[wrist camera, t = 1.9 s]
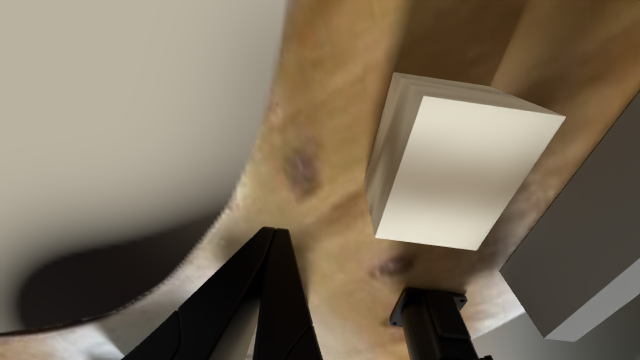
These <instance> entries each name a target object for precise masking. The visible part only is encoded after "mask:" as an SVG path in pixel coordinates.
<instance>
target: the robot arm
mask: <svg viewBox="0 0 640 360" xmlns="http://www.w3.org/2000/svg"><path fill="white" fill-rule="evenodd" d="M466 302H467V298H466V296H465V295H463V294H455V293H447V292H438V291H429V290H420V289H412V288H408V289H405V290H404V292H403V294H402V296H401V298H400V300H399V302H398V304H397V306H396V308H395V310H394V312H393V314H392V316H391V318H390V324H391V325H392V326H400V327H403V331H404V335H405V339H406V344H407V348H408V353H409V357H410V360H493V358H492V356H491V355H487V356H484V358H479V357H478V355H477V353H476V350H475V348H474V346H473V343H472V341H471V336H470V333H469V331H468V329H467V327H466V324H465V322H464V320H463V318H462V315H461V313H460V310H461V309H462V308H463V306H464V305H465V303H466ZM256 325H257V329H256V337H255V344H254V352H253V359H252V360H323V358H322V355H321V351H320V348H319V344H318V341H317V337H316V333H315V330H314V326H312V325H313V322H312V318H311V315H310V311H309V307H308V303H307V299H306V295H305V291H304V287H303V283H302V279H301V275H300V272H299V268H298V264H297V260H296V256H295V252H294V248H293V244H292V240H291V236H290V233H289V230H288V229H282V228H277V229H275V228H273V227H262V228H261V229H260V230H259V231H258V232H257V233H256V234H255V235H254V236H253V237H252V238H251V239H250V240H249V241H248V242H246V243H245V244H244V245H243V246H242V247H241V248H240V249H239V250H238V251H237V252H236V253H235V254H234V255H233V256H232V257H231V258H230V259H229V260H228V261H227V262H226V263H225V264H224V265H223V266H222V267H220V268H219V269H218V270H217V271H216V272H215V273H214V274H213V275H212V276H211V277H210V278H209V279H208V280H207V281H206V282H205V283H204V284H203V285H202V286H201V287H200V288H199V289H198V290H197V291H196V292H194V293H193V294H192V295H191V296H190V297H189V298H188V299H187V300H186V301H185V302H184V303H183V304H182V305H181V306H180V307H179V308H178V311H174V312H173V313H172V314H171V315H170V316H169V317H168V318H167V319H166V320H165V321H164V322H163V323H162V324H161V325H160V326H159V327H158V328H157V329H155V330H154V331H153V332H152V333H151V334H150V335H149V336H148V337H147V338H146V339H145V340H144V341H142V342H141V343H140V344H139V345H138V346H137V347H135V348H134V349H133V350H132V351H131V352H130V353H128V354H127V355H126V356H125V357H124V358H122V359H121V360H245V358H246V355H247V352H248V349H249V346H250V343H251V340H252V337H253V334H254V331H255V328H256Z"/></svg>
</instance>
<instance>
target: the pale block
mask: <svg viewBox="0 0 640 360" xmlns="http://www.w3.org/2000/svg"><path fill="white" fill-rule="evenodd" d="M565 118H566V116H563V115H561V114H558V113H556V112H553V111H551V110H548V109H546V108H543V107H541V106H538V105H536V104H533V103H531V102H528V101H526V100H523V99H521V98H518V97H516V96H513V95H511V94H508V93H505V92H503V91H500V90H498V89H495V88H493V87H490V86H484V85H477V84H471V83H464V82H457V81H451V80H444V79H437V78H430V77H424V76H417V75H410V74H403V73H397V72H393V76H392V80H391V84H390V87H389V91H388V95H387V99H386V102H385V106H384V110H383V114H382V117H381V121H380V125H379V129H378V132H377V136H376V140H375V143H374V147H373V151H372V155H371V158H370V162H369V166H368V170H367V173H366V177H365V181H364V185H365V190H366V195H367V200H368V205H369V210H370V215H371V220H372V225H373V230H374V235H375V238H382V239H390V240H397V241H405V242H413V243H421V244H429V245H437V246H445V247H453V248H461V249H468V250H476V251H477V249H478V248H479V246H480V245H481V243H482V242H483V240H484V239H485V237H486V236H487V234H488V233H489V231H490V230H491V228H492V227H493V225H494V224H495V222H496V221H497V219H498V218H499V216H500V215H501V213H502V212H503V210H504V209H505V207H506V206H507V204H508V203H509V201H510V200H511V198H512V197H513V195H514V194H515V193H516V191H517V190H518V188H519V187H520V185H521V184H522V182H523V181H524V179H525V178H526V176H527V175H528V173H529V172H530V170H531V169H532V167H533V166H534V164H535V163H536V161H537V160H538V158H539V157H540V155H541V154H542V152H543V151H544V149H545V148H546V146H547V145H548V143H549V142H550V140H551V139H552V137H553V136H554V134H555V133H556V131H557V130H558V128H559V127H560V126H561V124H562V123H563V121H564V120H565Z"/></svg>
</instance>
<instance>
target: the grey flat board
mask: <svg viewBox="0 0 640 360" xmlns="http://www.w3.org/2000/svg"><path fill="white" fill-rule="evenodd" d="M499 272H500V273H501V275H502V276H503V278H504V279H505V281H506V282H507V284H508V285H509V287H510V288H511V290H512V291H513V293H514V294H515V296H516V297H517V299H518V300H519V302H520V303H521V305H522V306H523V308H524V309H525V311H526V312H527V314H528V315H529V317H530V318H531V320H532V321H533V323H534V324H535V326H536V327H537V329H538V330H539V332H540V333H541V335H542V336H543V338H545V339H554V340H563V341H572V342H575V341H576V340H578V339H579V338H580V337H582V336H583V335H584V334H586V333H587V332H588V331H590V330H591V329H593V328H594V327H595V326H596V325H598V324H599V323H601V322H602V321H603V320H605V319H606V318H607V317H608V316H610V315H611V314H613V313H614V312H615V311H616V310H618V309H619V308H621V307H622V306H623V305H624V304H626V303H627V302H629V301H630V300H631V299H633V298H634V297H635V296H637V295H638V294H639V293H640V91H639V93H638V94H637V95H636V97H635V98H634V99H633V100H632V102H631V103H630V104H629V105H628V107H627V108H626V109H625V111H624V112H623V113H622V114H621V116H620V117H619V118H618V120H617V121H616V122H615V123H614V125H613V126H612V127H611V129H610V130H609V131H608V132H607V134H606V135H605V136H604V138H603V139H602V140H601V141H600V143H599V144H598V145H597V147H596V148H595V149H594V150H593V152H592V153H591V154H590V156H589V157H588V158H587V159H586V161H585V162H584V163H583V165H582V166H581V167H580V168H579V170H578V171H577V172H576V174H575V175H574V176H573V177H572V179H571V180H570V181H569V183H568V184H567V185H566V186H565V188H564V189H563V190H562V192H561V193H560V194H559V195H558V197H557V198H556V199H555V201H554V202H553V203H552V204H551V206H550V207H549V208H548V210H547V211H546V212H545V213H544V215H543V216H542V217H541V219H540V220H539V221H538V222H537V224H536V225H535V226H534V227H533V229H532V230H531V231H530V233H529V234H528V235H527V236H526V238H525V239H524V240H523V242H522V243H521V244H520V245H519V247H518V248H517V249H516V251H515V252H514V253H513V254H512V256H511V257H510V258H509V260H508V261H507V262H506V263H505V265H504V266H503V267H502V269H501V270H500V271H499Z"/></svg>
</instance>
